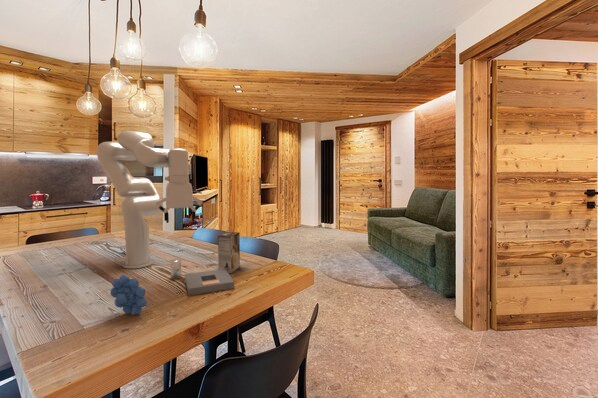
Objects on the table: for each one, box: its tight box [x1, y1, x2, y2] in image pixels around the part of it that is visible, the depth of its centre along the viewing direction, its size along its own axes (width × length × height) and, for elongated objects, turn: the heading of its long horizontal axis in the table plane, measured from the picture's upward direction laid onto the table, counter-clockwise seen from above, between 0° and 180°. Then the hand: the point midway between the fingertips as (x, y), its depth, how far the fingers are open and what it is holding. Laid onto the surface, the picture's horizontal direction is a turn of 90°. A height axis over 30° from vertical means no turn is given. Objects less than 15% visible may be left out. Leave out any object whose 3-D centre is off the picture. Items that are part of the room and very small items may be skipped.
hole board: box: [184, 269, 235, 296], centre depth 112 cm, size 16×16×3 cm
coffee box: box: [217, 231, 241, 274], centre depth 128 cm, size 9×6×16 cm
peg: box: [169, 258, 182, 280], centre depth 118 cm, size 4×4×7 cm
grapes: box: [110, 274, 148, 315], centre depth 86 cm, size 12×7×12 cm, turn 81°
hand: (180, 221), depth 118 cm, fingers open, 9 cm apart
